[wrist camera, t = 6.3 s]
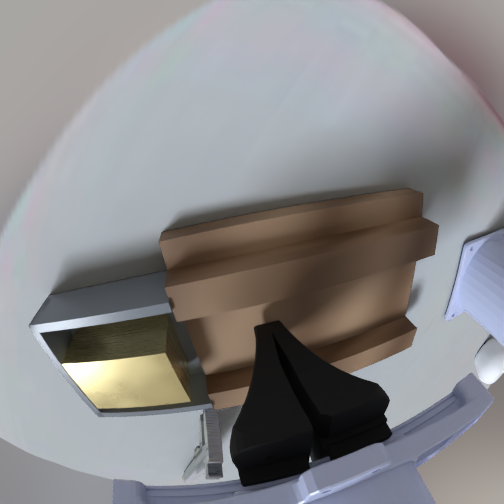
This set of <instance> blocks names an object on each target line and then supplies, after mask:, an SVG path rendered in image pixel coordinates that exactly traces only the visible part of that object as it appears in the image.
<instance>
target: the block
mask: <svg viewBox="0 0 504 504" xmlns="http://www.w3.org/2000/svg"><path fill="white" fill-rule="evenodd" d="M62 365H63V367H64V368H65V369H66V371H67V372H68V373H69V375H70V376H71V377H72V378H73V380H74V381H75V382H76V384H77V385H78V386H79V387H80V388H81V390H82V391H83V392H84V393H85V394H86V396H87V397H88V398H89V399H90V400H91V401H92V403H93V404H94V405H95V406H96V407H97V408H98V409H99V408H131V407H145V406H157V405H167V404H176V403H183V402H191V394H190V374H189V362H188V359H187V357H186V355H185V352H184V350H183V348H182V345H181V343H180V341H179V338H178V336H177V333H176V331H175V329H174V326H173V324H172V321H171V318H170V316H169V313H167V314H161V315H156V316H150V317H145V318H139V319H133V320H127V321H121V322H115V323H109V324H103V325H96V326H89V327H82V328H77V329H76V331H75V333H74V336H73V338H72V340H71V343H70V345H69V347H68V350H67V352H66V354H65V357H64V359H63V362H62Z"/></svg>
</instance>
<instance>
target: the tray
mask: <svg viewBox="0 0 504 504" xmlns="http://www.w3.org/2000/svg"><path fill="white" fill-rule="evenodd" d="M166 275H167V271H162V272H158V273H153V274H148V275H143V276H139V277H134V278H129V279H124V280H120V281H115V282H110V283H105V284H101V285H96V286H91V287H86V288H82V289H77V290H72V291H67V292H63V293H58V294H53V295H49V296H48V297H47V299H46V300H45V302H44V303H43V304H42V306H41V307H40V309H39V310H38V312H37V313H36V315H35V317H34V318H33V320H32V321H31V323H30V324H29V327H30V329H31V330H32V332H33V334H34V335H35V337H36V338H37V340H38V342H39V343H40V345H41V346H42V348H43V349H44V351H45V352H46V354H47V355H48V356H49V358H50V359H51V361H52V362H53V363H54V365H55V366H56V367H57V369H58V370H59V371H60V373H61V374H62V375H63V377H64V378H65V379H66V380H67V382H68V383H69V384H70V385H71V387H72V388H73V389H74V390H75V391H76V393H77V394H78V395H79V396H80V397H81V398H82V400H83V401H84V402H85V403H86V404H87V405H88V406H89V407H90V408H91V410H92V411H93V412H94V413H95V414H96V415H97V416H98V417H127V416H146V415H159V414H170V413H179V412H187V411H194V410H201V409H208V408H213V404H212V402H211V400H210V398H209V396H208V392H207V383H206V375H205V372H204V370H203V368H202V365H201V363H200V360H199V358H198V355H197V353H196V350H195V348H194V345H193V343H192V340H191V337H190V335H189V332H188V329H187V327H186V324H185V321H180V322H177V321H176V318H175V316H174V313H173V310H172V308H171V305H170V302H169V299H168V296H167V294H166V291H165V281H166ZM167 313H169V316H170V318H171V321H172V324H173V326H174V329H175V331H176V333H177V336H178V338H179V341H180V343H181V345H182V348H183V350H184V352H185V355H186V357H187V359H188V362H189V374H190V394H191V402H183V403H176V404H167V405H157V406H145V407H131V408H99V409H98V408H97V407H96V406H95V405H94V404H93V403H92V401H91V400H90V399H89V398H88V397H87V396H86V394H85V393H84V392H83V391H82V390H81V388H80V387H79V386H78V385H77V384H76V382H75V381H74V380H73V378H72V377H71V376H70V375H69V373H68V372H67V371H66V369H65V368H64V367H63V365H62V362H63V359H64V357H65V354H66V352H67V350H68V347H69V345H70V343H71V340H72V338H73V336H74V333H75V331H76V329H77V328H82V327H89V326H96V325H103V324H109V323H115V322H121V321H127V320H133V319H139V318H145V317H150V316H156V315H161V314H167Z"/></svg>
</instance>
